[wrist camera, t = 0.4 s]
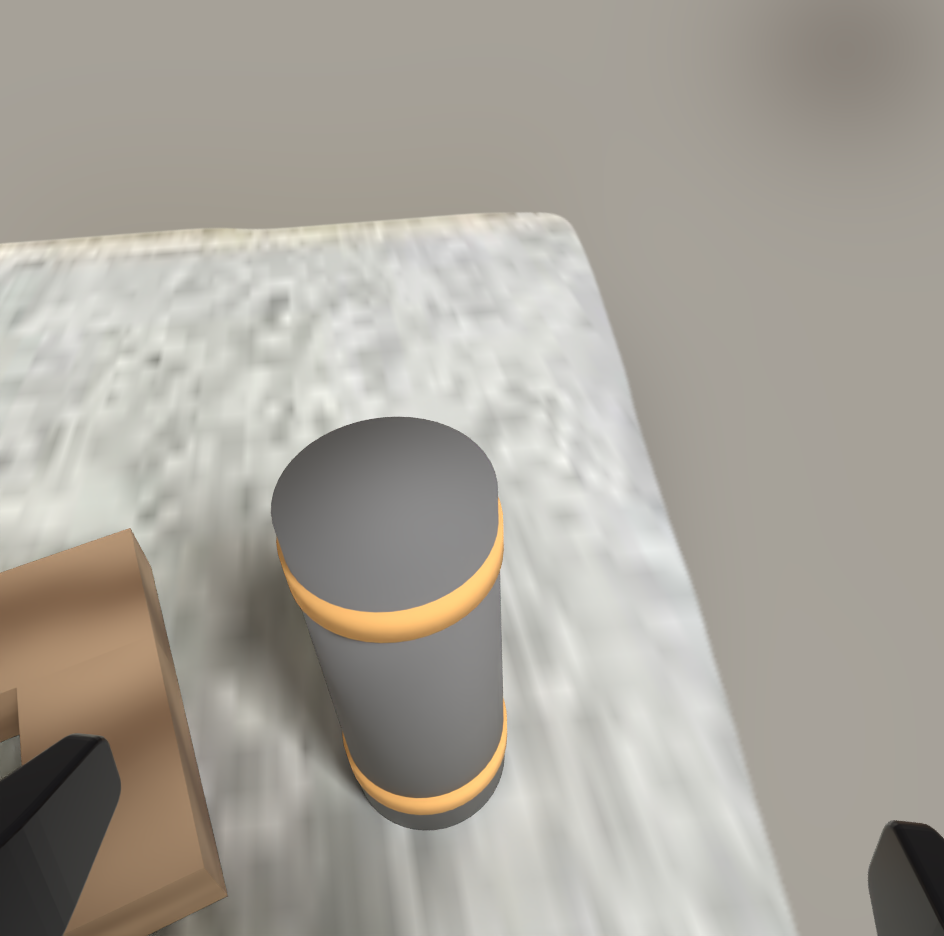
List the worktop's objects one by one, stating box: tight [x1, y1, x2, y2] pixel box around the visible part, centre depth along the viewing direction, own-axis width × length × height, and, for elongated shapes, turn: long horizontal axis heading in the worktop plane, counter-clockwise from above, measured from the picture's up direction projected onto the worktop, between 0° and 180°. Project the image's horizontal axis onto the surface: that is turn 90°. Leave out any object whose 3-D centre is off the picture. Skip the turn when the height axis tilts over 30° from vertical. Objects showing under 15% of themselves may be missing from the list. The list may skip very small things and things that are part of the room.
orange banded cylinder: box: [271, 417, 507, 830], centre depth 22 cm, size 5×5×13 cm
